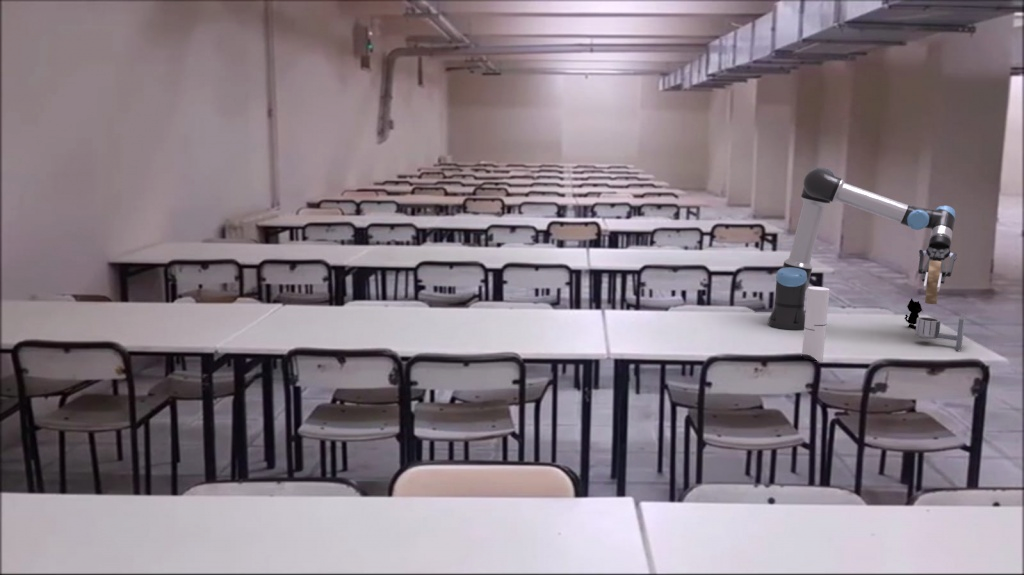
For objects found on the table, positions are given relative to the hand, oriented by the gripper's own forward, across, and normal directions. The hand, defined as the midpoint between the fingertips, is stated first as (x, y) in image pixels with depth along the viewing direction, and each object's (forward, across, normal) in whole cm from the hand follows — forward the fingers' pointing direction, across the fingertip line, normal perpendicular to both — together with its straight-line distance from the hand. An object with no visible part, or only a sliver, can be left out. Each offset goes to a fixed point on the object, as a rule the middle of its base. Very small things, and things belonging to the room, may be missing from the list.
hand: (931, 288), depth 339 cm
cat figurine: (-7, +8, -39) cm, 40 cm away
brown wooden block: (+2, 0, -7) cm, 7 cm away
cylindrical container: (+49, +32, +18) cm, 61 cm away
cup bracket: (+13, -4, -18) cm, 23 cm away
